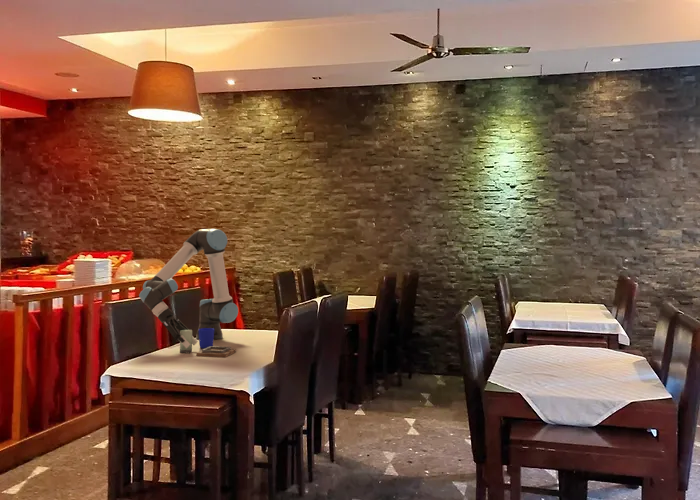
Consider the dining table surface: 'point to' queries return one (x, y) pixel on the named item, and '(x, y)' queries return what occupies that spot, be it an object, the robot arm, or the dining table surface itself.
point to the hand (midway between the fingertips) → (192, 345)
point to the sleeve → (188, 336)
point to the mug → (206, 337)
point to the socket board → (216, 351)
